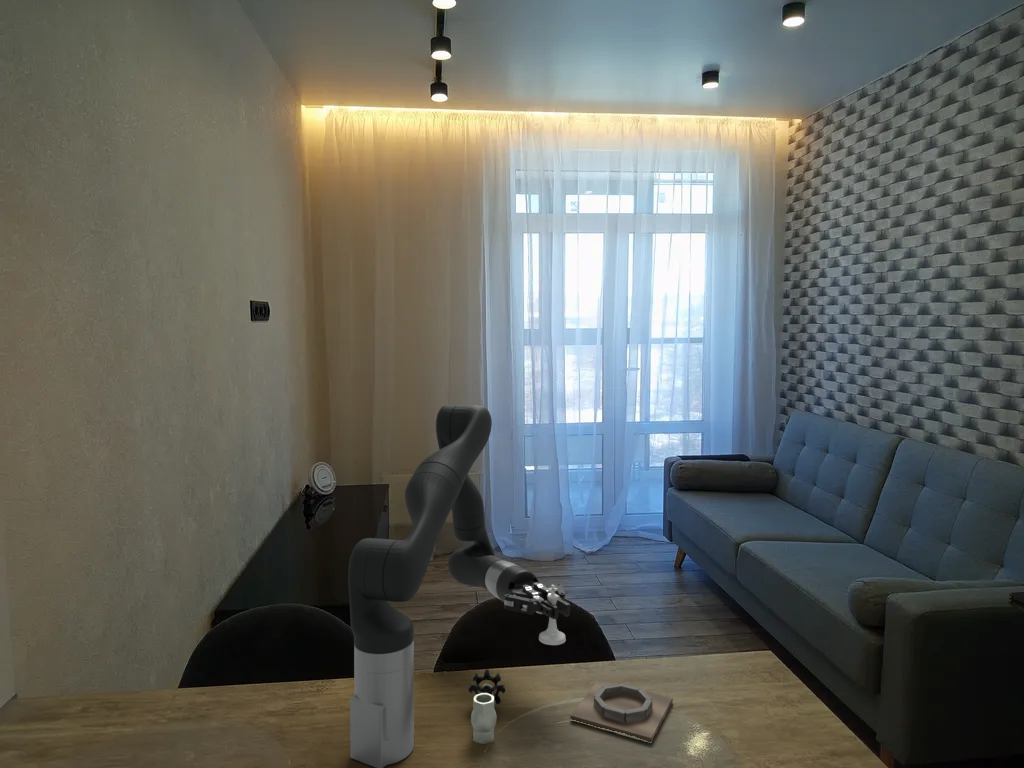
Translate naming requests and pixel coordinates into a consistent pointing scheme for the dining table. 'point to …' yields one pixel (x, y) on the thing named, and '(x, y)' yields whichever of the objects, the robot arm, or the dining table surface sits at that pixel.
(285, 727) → the dining table surface
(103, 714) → the dining table surface
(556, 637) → the chess piece
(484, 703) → the valve
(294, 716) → the dining table surface
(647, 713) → the board
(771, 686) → the dining table surface
